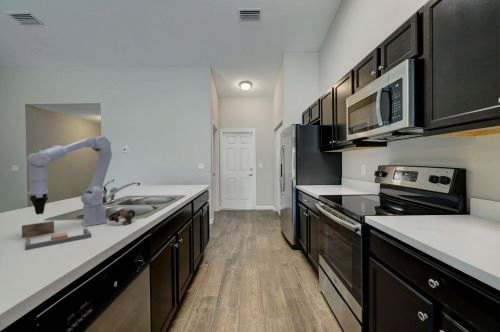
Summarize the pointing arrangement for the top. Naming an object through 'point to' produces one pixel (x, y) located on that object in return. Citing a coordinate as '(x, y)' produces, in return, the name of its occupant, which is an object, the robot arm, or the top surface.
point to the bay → (57, 240)
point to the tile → (59, 236)
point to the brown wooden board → (37, 229)
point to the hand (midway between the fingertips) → (39, 212)
